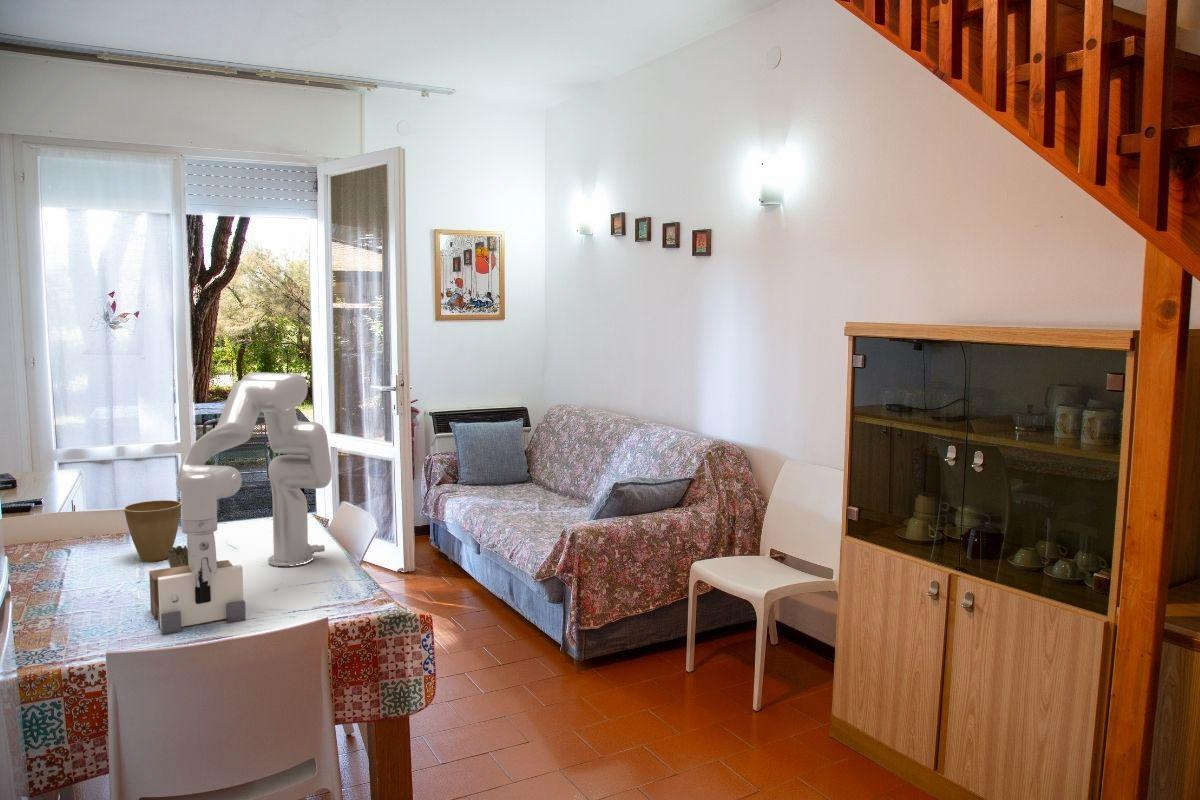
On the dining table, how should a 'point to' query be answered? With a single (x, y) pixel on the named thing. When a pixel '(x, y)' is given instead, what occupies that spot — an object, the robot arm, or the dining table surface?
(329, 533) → the dining table surface
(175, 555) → the dark textured ornament
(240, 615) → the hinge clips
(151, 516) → the plant pot
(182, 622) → the cabinet door
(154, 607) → the cabinet body
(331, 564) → the dining table surface
